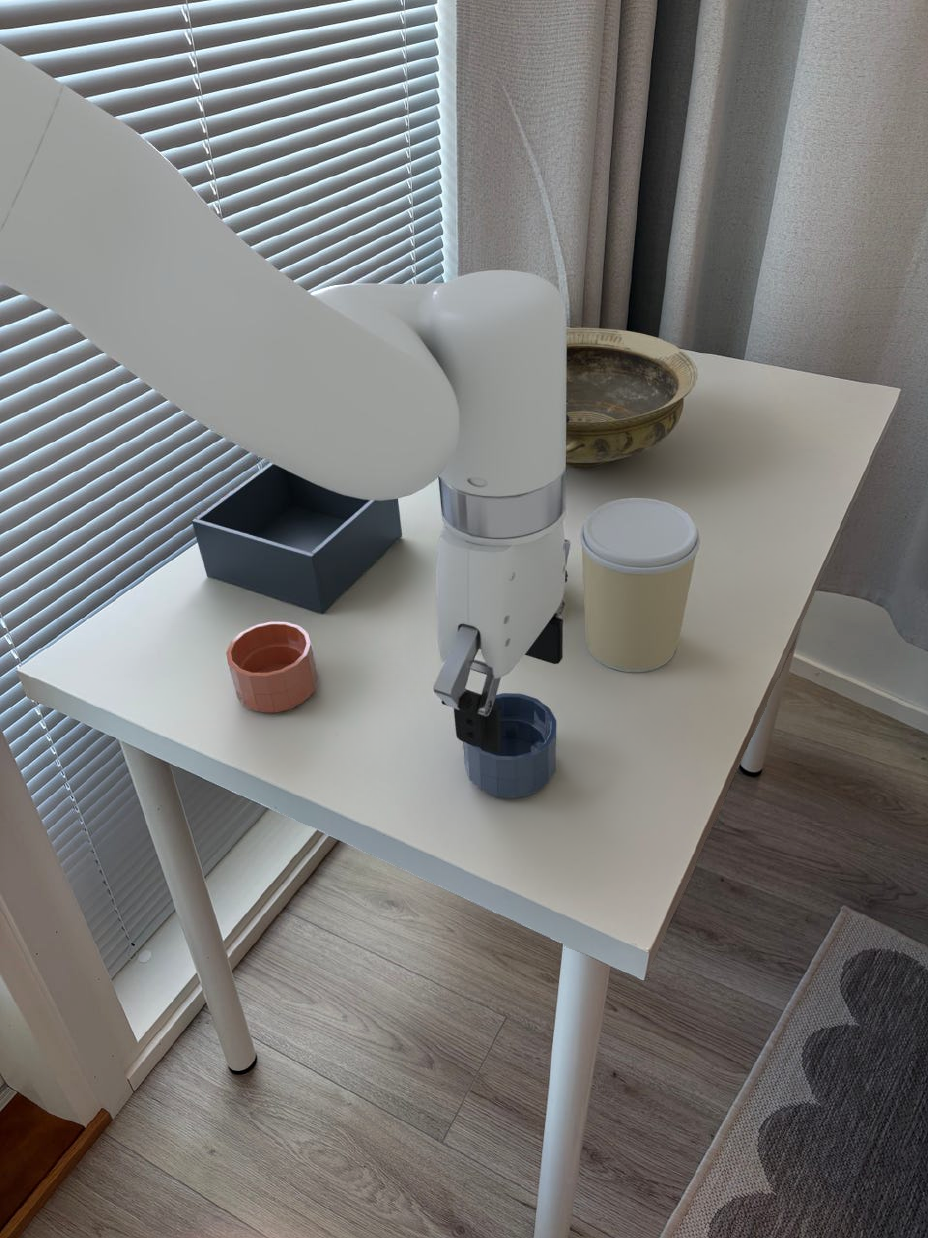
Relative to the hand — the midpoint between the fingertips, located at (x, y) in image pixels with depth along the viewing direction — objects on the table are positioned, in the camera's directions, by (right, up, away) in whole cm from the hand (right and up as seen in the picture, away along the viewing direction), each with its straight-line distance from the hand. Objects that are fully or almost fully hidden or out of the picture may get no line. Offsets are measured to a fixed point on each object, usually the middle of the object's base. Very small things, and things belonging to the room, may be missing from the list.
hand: (511, 698), depth 67 cm
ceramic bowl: (+10, +25, +42) cm, 49 cm away
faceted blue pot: (0, -6, +4) cm, 7 cm away
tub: (-19, +12, +28) cm, 36 cm away
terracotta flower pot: (-19, 0, +13) cm, 23 cm away
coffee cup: (+11, +3, +15) cm, 19 cm away
